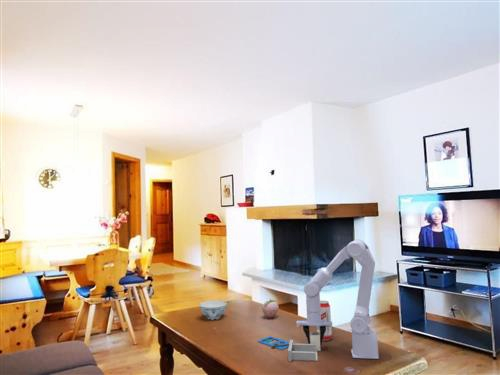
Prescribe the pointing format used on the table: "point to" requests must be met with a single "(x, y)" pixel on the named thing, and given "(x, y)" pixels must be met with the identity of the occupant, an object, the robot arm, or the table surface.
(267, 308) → the decorative fruit
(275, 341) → the handheld gaming device
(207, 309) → the chinaware
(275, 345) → the dark gray rod
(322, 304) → the beer can
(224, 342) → the table surface
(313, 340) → the block
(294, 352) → the dock
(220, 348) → the table surface
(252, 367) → the table surface
